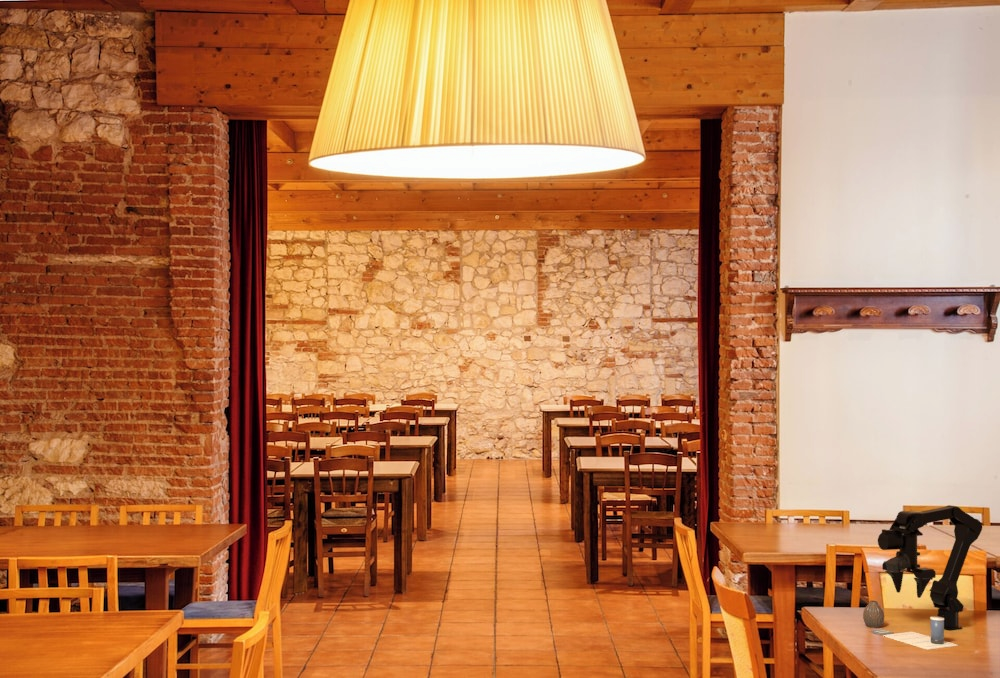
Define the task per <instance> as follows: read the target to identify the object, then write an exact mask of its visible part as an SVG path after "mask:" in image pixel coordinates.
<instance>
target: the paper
mask: <svg viewBox="0 0 1000 678" xmlns="http://www.w3.org/2000/svg"><path fill="white" fill-rule="evenodd" d="M884 636H885V637H884ZM882 637H884V638H888V639H891V640H895V641H898V642H901V643H904V644H908V645H911V646H914V647H917V648H920V649H923V650H928V651H929V650H935V649H944V648H951V647H953V648H954V647H958V646H959V645H958V643H957V644H955V643H953V642H950V641H949V642H948V641H945V640H944V644H933V643H931V636H929V635H925V634H923V633H918V632H915V631H906V632H899V633H894V634H886V635H882Z"/></svg>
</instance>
